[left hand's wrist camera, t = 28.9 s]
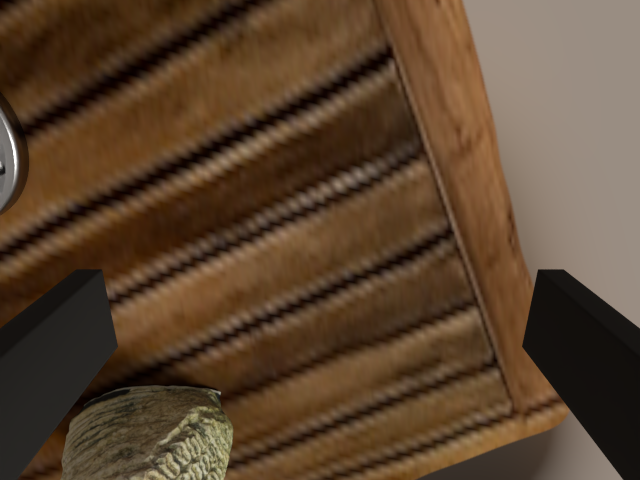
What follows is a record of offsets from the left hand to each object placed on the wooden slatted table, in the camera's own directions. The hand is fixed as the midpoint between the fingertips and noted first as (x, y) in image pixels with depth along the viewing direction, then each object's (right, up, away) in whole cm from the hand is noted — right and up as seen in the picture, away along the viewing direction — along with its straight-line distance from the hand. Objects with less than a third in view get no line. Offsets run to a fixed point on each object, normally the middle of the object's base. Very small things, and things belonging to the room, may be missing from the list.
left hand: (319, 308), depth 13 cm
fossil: (-18, -17, +34) cm, 42 cm away
